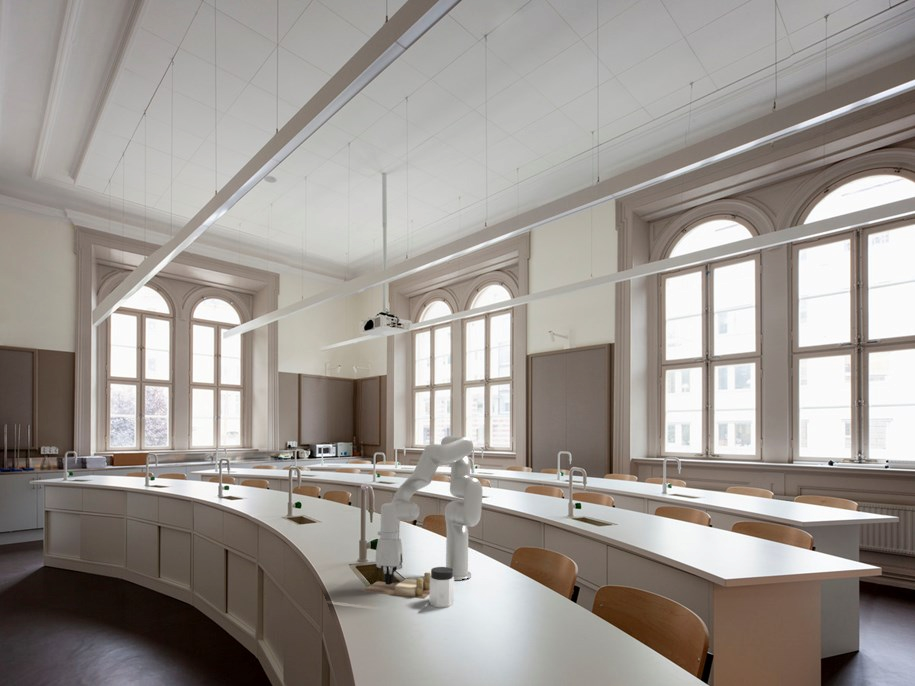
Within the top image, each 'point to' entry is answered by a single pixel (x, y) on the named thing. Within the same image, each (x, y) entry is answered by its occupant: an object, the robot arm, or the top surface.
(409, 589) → the cream rectangular slab
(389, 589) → the board
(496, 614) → the top surface
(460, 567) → the robot arm
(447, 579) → the jar
